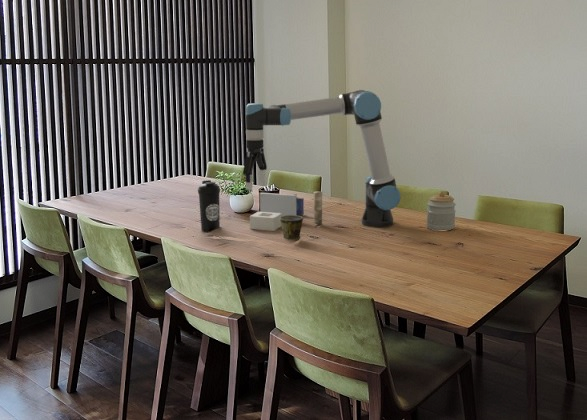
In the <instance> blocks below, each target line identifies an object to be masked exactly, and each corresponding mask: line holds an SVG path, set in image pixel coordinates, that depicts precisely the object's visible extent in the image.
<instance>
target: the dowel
mask: <svg viewBox="0 0 587 420" xmlns="http://www.w3.org/2000/svg"><path fill="white" fill-rule="evenodd" d="M313 223H314V224H316V225H315V227H322V226H323V192H322V191H313Z"/></svg>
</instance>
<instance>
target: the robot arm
mask: <svg viewBox="0 0 587 420" xmlns="http://www.w3.org/2000/svg"><path fill="white" fill-rule="evenodd" d="M245 108H246V109H245V126H246V127H245V128H246V130H245V135H246V143H245V145H246V146H245V147H246V149H249V151H246V152H245V159H244V165H243V170H242V174H243V176H245V190H246V191H247V190H249V191H253V175H252V171H253V169H254V165H255V163H256V164H257V167H258V170H257V171H258V172H257V173H258V175H257V177H258V179H257V180H258V182H257V183H258V185H265V170H266V171H267V170H268V168H267V167H268V166H267V162H266V158H265V156H266V155H265V150H264V126H283V127H284V126H290V125H291V121H295V120H301V119H308V118H309V119H310V118H316V117H325V116H331V115H339V114H341V115H342V116H348V115H353V116H354V119H355V125H356V126H358V127H359V128H360V132H361V136H362V141H363V144H364V145H363V146H364V149H365V153H366V158H367V163H368V167H369V174H370V176H367V177H366V179H365V208H364V212H363V213H362V216H361V224H362V225H364V226H366V227H371V226H374V227H373V228H384V227H383V226H386V227H390V225H391V226H393V225H394V217H393V214H392V211H391V210H392V209H395V208H396V207H397V206H398V205H399V204H400V201H401V192H400V190H399V188H398V187H397V183H396V178H395V176H394V175H392V174H391V170H390V167H389V161H388V156H387V153H386V148H385V143H384V139H383V138H384V137H383V134H382V130H381V124H380V123H381V121H382V113H381V110H382V101H381V100H380V98H379V96H378V95H377V94H376V93H374V92H372V91H370V90H369V91H368V90H364V89H363V90H362V89H359V90H355V91H352V92H346V93H341V94H339V95H338V96H335V97H334V96H333V97H328V98H321V99H313V100H305V101H299V102H292V103H285V104H278V105H277V104H272V105H269V106H268V107H264V104H263V103H256V102H255V103H254V102H253V103H252V102H251V103H247V105H246V106H245ZM392 224H393V225H392Z"/></svg>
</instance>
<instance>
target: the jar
mask: <svg viewBox="0 0 587 420" xmlns="http://www.w3.org/2000/svg"><path fill="white" fill-rule="evenodd" d="M454 200H455V198H454V197H452V196H451V195H449V194H446V193H445V192H444V191H443V190H442V191H441V190H440V191H439V193H438V194H432V195H431V196H430V197H429V198H428V202H427V204H426V205H428V206H427V209H426V223H425V224H426V228H427V227H428V228H429V229H433V230H450V229H453V228H454V229H455V227H456V223H455V222H456V221H455V218H456V209H455V207H456V206H457V203H456V202H454ZM428 228H427V229H428ZM429 229H428V230H429ZM454 229H453V230H454ZM433 230H432V231H433Z"/></svg>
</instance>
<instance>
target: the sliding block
mask: <svg viewBox="0 0 587 420" xmlns="http://www.w3.org/2000/svg"><path fill="white" fill-rule="evenodd" d="M281 217H282V213H271V212H260V211H257V212H255V213H253V214H251V215H250V216H249V229H250V230H260V231H269V232H270V231H271V232H275V231H277V230H278V229H279V228H282V226H281V221H280V218H281Z"/></svg>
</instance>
